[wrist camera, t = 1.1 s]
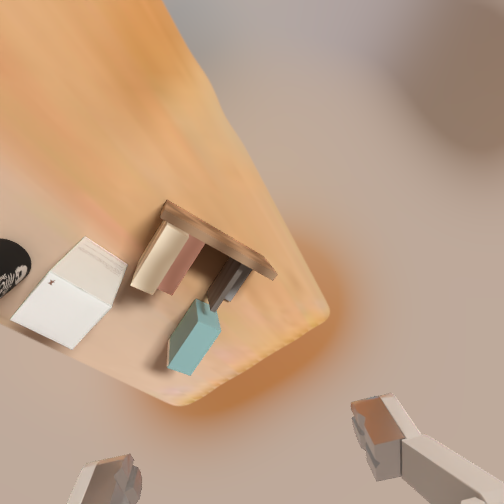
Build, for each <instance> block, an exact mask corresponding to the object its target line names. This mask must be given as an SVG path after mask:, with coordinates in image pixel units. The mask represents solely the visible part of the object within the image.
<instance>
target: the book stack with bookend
mask: <svg viewBox="0 0 504 504" xmlns="http://www.w3.org/2000/svg"><path fill="white" fill-rule="evenodd" d="M160 218H161V219H163V221H162V223H161V224H160V226H159V228H158V229H157V231H156V233H155V234H154V236H153V238H152V239H151V241H150V243H149V244H148V246H147V247H146V249H145V251H144V252H143V254H142V256H141V257H140V259H139V262H138V265H137V267H136V270H135V273H134V276H133V279H132V282H131V284H130V286H132V287H135V288H137V289H139V290H142V291H144V292H146V293H148V294H151V295H153V294H154V292H155V291H156V289H159V290H161V291H164V292H166V293H168V294H170V295H173V293H174V292H175V290H176V289H177V287H178V285H179V284H180V282H181V281H182V279H183V278H184V276H185V274H186V273H187V271H188V270H189V268H190V267H191V265H192V264H193V262H194V260H195V259H196V257H197V256H198V254H199V253H200V251H201V249H202V248H203V246H204V245H205V243H206V244H208V245H209V246H211V247H213V248H215V249H217V250H218V251H220V252H222V253H224V254H226V255H227V256H229V257H230V258H229V259H228V261H227V262H226V264H225V265H224V267H223V268H222V270H221V271H220V273H219V274H218V276H217V277H216V279H215V280H214V282H213V283H212V285H211V286H210V288H209V289H208V291H207V296H208V301H209V306H210V311H212V312H214V313H215V312H216V310H217V309H218V307H219V306H220V304H221V303H222V301H223V300H224V299H226V300H228V301H230V302H231V300H232V299H233V297H234V296H235V294H236V293H237V291H238V290H239V288H240V287H241V285H242V284H243V282H244V281H245V280H246V278H247V277H248V275H249V274H250V272H251V271H252V269H253V270H254V271H256V272H258V273H260V274H262V275H263V276H265V277H267V278H269V279H271V280H272V281H273V280H274V279H275V277H276V276H277V275H278V274H277V273H276V271H275V270H274V269H273V268H272V266H271V265H270V264H269V263H268V261H267V260H266V259H265V257H264V256H262V255H260V254H259V253H257V252H255V251H254V250H252V249H250V248H249V247H247V246H245V245H243V244H242V243H240V242H238V241H237V240H235V239H233V238H232V237H230V236H228V235H226V234H225V233H223V232H221V231H220V230H218V229H216V228H215V227H213V226H211V225H209V224H208V223H206V222H204V221H203V220H201V219H199V218H198V217H196V216H194V215H192V214H191V213H189V212H187V211H186V210H184V209H182V208H181V207H179V206H177V205H175V204H174V203H172V202H170V201H169V200H166V202H165V204H164V205H163V208H162V211H161V215H160Z"/></svg>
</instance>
